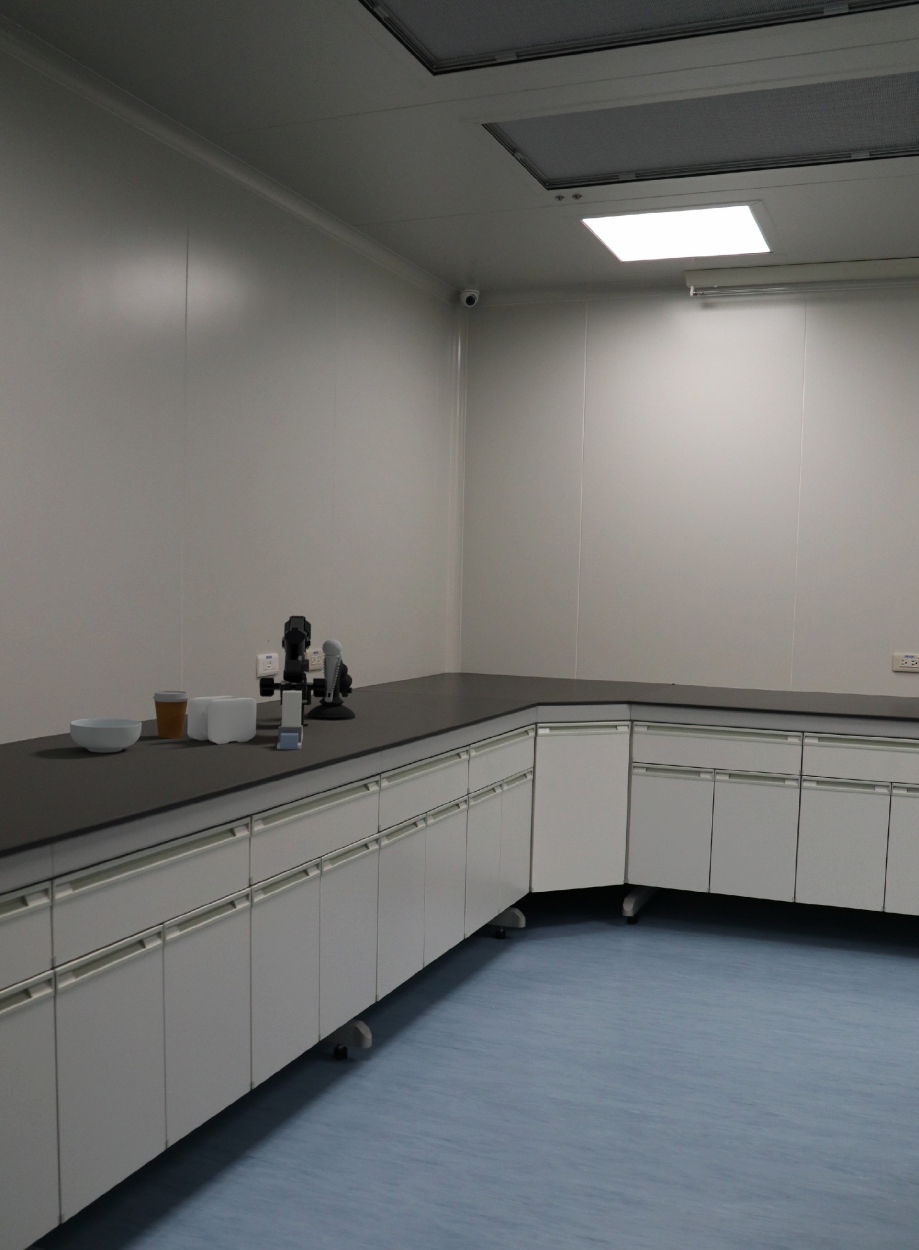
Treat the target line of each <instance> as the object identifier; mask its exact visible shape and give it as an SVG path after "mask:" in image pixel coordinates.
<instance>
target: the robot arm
mask: <svg viewBox="0 0 919 1250" xmlns="http://www.w3.org/2000/svg"><path fill="white" fill-rule="evenodd" d="M306 618H307V617H306V616H304V615H291V616H289V618H288V620H287V621H286V622H285V623H284V625H283V627H284V628H283V636H282V637H281V647H282V649H284V654H285V656H284V665H283V666H284V667H283V668H284V669H283V672H282V680H280V682H275V677H272V676H271V677H269V676H265V677H264V676H261V677H260V678H259V683H258V685H259V687H258V688H259V697H260V696H261V697H262V698H264V697H265V698H267V697H268V698H272V697H273V696H274V695H275V692H276V691H277V692H279V694H280V695H279V698H280V706H282V695H283V691H302V701H301V725H303V727H304V726H309V723H308V722H305V706H311V705H312V696H313V697H315V698H321V699H322V698H325V697H326V696H327V680H326V679H325V677H312V682H308V677H307V673H309V672H310V659H309V658H306V653H307V650H309V648H310V646H311V644H312V641H311V640H312V623H310V621H308V620H307V619H306ZM306 672H307V673H306ZM279 723H280V724H281V725H282V721H280V722H279Z"/></svg>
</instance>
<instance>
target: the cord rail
mask: <svg viewBox="0 0 919 1250" xmlns="http://www.w3.org/2000/svg"><path fill="white" fill-rule="evenodd" d="M303 727H304V726H303V725H301V726H282V724H281V725H280V726H279V725H278V727H277V728H278V731H277V733H278V734H277V744H276V749H277V750H301V749H302V744H303V738H304V732H303V731H304V730H303Z"/></svg>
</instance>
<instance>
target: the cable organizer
mask: <svg viewBox="0 0 919 1250" xmlns="http://www.w3.org/2000/svg"><path fill="white" fill-rule="evenodd" d="M186 733H187V736H188V737H189V738H191V739H194V740H197V741H208V740H209V741H210V742H212V743H216V745H224V744H229V742H230V743H231V742H236V743H242V742H243V743H244V742H249V740H251V739H253V738H254V737H255V736H256V733H257V701H256V700H255V699H254V698H251V697H239V698H237V697H236V696H235V695H219V696H218V695H217V696H203V697H201V696H200V697H193V698H192V699H190V700H188V702H187V732H186Z"/></svg>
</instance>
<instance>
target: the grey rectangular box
mask: <svg viewBox="0 0 919 1250" xmlns="http://www.w3.org/2000/svg"><path fill="white" fill-rule="evenodd" d="M301 701H303V700H302V691H283V695H282V705H281V722H282V724H281V725H282V726H301Z"/></svg>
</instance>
